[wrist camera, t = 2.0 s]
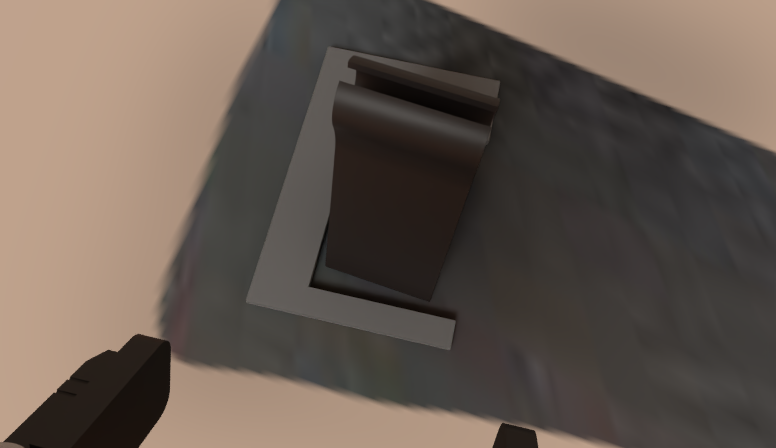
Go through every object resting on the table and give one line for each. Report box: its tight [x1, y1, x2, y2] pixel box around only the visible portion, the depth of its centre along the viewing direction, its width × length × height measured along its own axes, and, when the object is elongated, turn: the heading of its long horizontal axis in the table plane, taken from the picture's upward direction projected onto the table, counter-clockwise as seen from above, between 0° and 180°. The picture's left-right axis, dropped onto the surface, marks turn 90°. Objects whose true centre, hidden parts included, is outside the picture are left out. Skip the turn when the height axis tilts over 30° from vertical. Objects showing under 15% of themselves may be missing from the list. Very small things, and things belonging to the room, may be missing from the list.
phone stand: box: [326, 55, 500, 302], centre depth 27 cm, size 9×6×12 cm, turn 160°
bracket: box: [246, 46, 500, 350], centre depth 33 cm, size 11×17×1 cm, turn 167°
